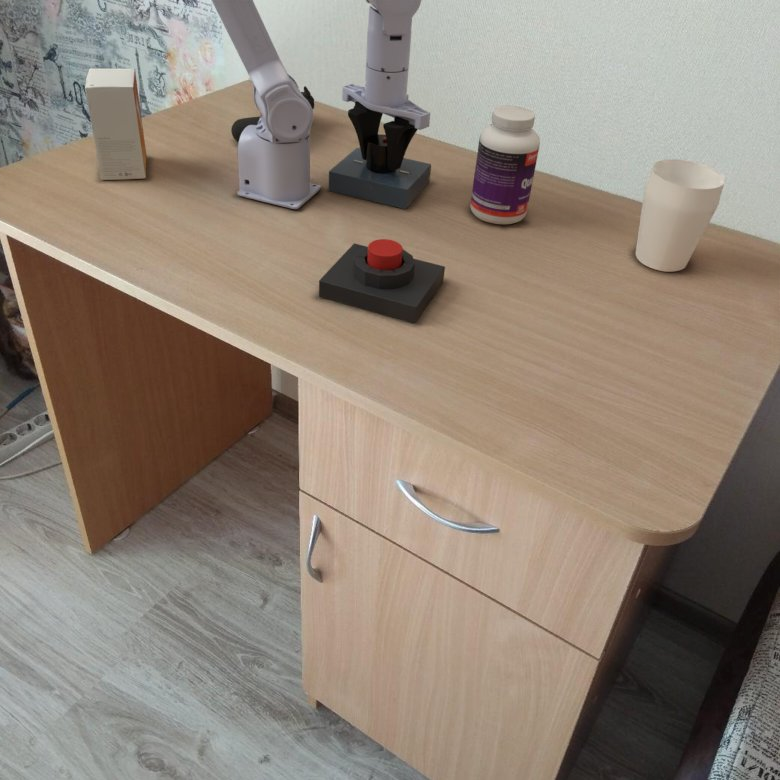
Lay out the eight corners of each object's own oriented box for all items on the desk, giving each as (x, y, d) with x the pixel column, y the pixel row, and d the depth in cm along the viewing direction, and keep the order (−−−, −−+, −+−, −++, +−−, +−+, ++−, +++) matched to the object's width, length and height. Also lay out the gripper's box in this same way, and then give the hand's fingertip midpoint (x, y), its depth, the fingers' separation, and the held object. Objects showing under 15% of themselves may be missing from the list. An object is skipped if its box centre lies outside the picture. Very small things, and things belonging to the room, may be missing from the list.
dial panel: (328, 190, 112) (328, 170, 110) (356, 166, 119) (357, 146, 117) (405, 209, 109) (407, 188, 107) (429, 183, 116) (431, 162, 114)
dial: (366, 172, 110) (367, 143, 108) (365, 160, 114) (366, 131, 111) (397, 174, 111) (399, 144, 108) (395, 161, 114) (397, 132, 112)
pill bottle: (523, 231, 106) (543, 127, 97) (465, 222, 107) (480, 119, 98) (527, 206, 112) (546, 106, 103) (472, 198, 113) (486, 98, 104)
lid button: (361, 266, 89) (362, 250, 88) (375, 251, 92) (375, 235, 91) (393, 275, 88) (395, 259, 87) (406, 259, 91) (407, 243, 90)
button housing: (318, 296, 90) (318, 266, 88) (353, 258, 98) (354, 229, 95) (415, 323, 87) (418, 293, 85) (443, 282, 95) (447, 253, 92)
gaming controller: (242, 162, 124) (293, 138, 119) (223, 128, 121) (274, 103, 116) (278, 125, 136) (325, 103, 132) (261, 95, 134) (308, 71, 129)
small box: (147, 179, 111) (133, 86, 103) (100, 181, 110) (83, 87, 101) (147, 156, 117) (135, 67, 109) (103, 157, 116) (87, 67, 108)
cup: (696, 251, 105) (726, 167, 97) (694, 283, 98) (726, 195, 91) (629, 237, 107) (653, 153, 99) (622, 267, 100) (648, 180, 93)
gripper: (448, 74, 102) (437, 172, 111) (367, 47, 109) (363, 141, 118) (414, 85, 98) (405, 185, 107) (332, 56, 105) (330, 153, 114)
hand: (381, 163), depth 112 cm, fingers closed on dial, 4 cm apart
